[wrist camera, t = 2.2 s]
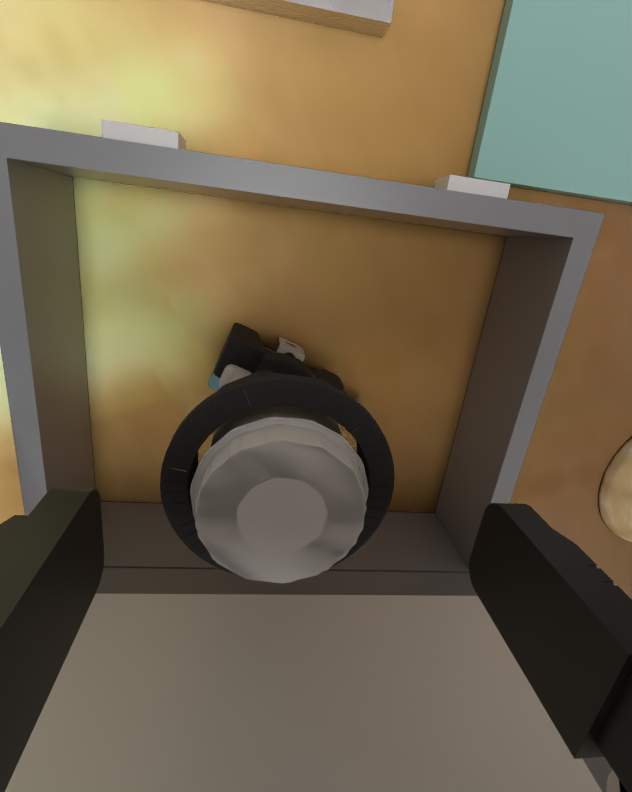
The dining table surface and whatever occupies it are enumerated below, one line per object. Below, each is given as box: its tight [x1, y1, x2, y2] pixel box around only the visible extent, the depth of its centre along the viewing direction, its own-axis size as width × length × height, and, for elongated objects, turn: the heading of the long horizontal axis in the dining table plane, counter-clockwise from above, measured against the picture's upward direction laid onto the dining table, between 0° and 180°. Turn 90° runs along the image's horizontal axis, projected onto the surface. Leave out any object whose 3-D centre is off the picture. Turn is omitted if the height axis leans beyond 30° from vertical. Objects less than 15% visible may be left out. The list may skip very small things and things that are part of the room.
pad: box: [467, 0, 632, 205], centre depth 15 cm, size 8×8×1 cm
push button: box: [160, 323, 394, 583], centre depth 14 cm, size 7×5×10 cm
